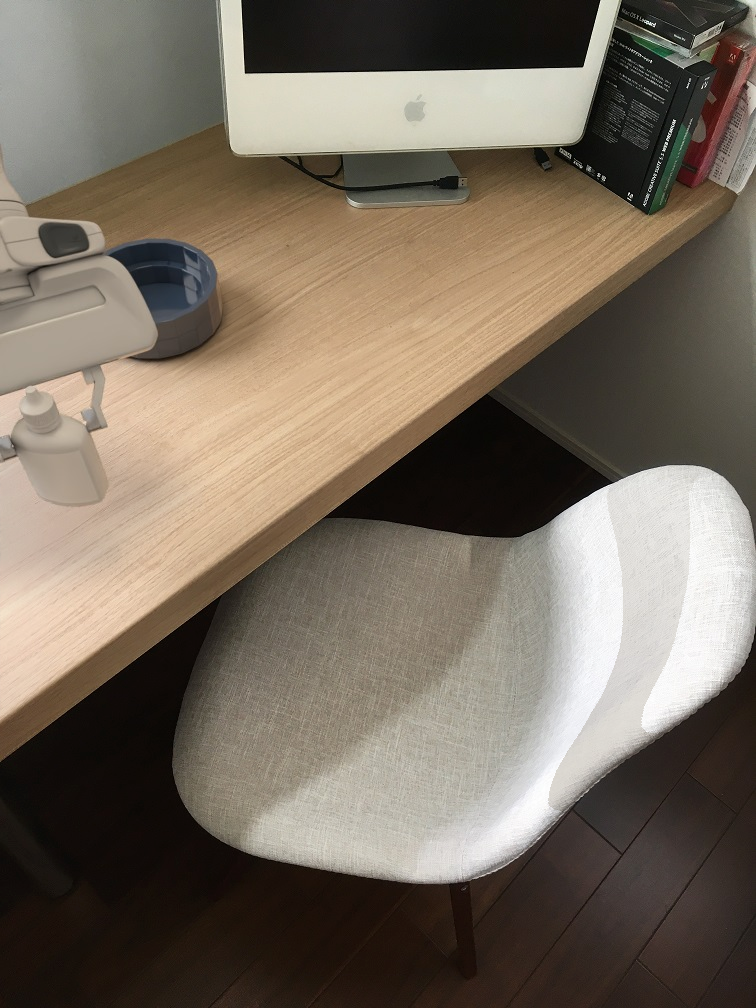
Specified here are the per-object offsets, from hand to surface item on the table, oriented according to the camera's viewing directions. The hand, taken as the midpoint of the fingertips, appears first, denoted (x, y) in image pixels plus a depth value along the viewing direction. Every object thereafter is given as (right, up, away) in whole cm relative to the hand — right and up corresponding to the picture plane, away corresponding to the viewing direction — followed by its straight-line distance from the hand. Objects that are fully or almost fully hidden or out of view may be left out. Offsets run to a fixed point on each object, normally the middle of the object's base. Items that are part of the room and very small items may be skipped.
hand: (54, 445), depth 59 cm
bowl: (-1, +17, +31) cm, 35 cm away
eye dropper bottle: (-1, -4, +6) cm, 7 cm away
